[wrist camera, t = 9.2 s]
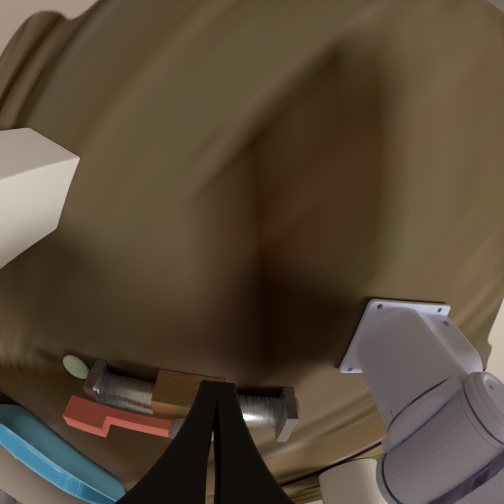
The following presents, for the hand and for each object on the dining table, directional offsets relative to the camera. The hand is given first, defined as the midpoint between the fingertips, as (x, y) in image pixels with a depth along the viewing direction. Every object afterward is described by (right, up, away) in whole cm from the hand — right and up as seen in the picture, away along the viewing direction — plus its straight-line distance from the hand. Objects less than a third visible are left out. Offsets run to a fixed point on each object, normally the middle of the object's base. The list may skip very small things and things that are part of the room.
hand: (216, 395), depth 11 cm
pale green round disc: (-17, -6, +13) cm, 22 cm away
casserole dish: (-37, -33, +24) cm, 55 cm away
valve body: (-4, -8, +14) cm, 16 cm away
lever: (-9, -9, +10) cm, 16 cm away
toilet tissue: (+19, -33, +26) cm, 46 cm away
